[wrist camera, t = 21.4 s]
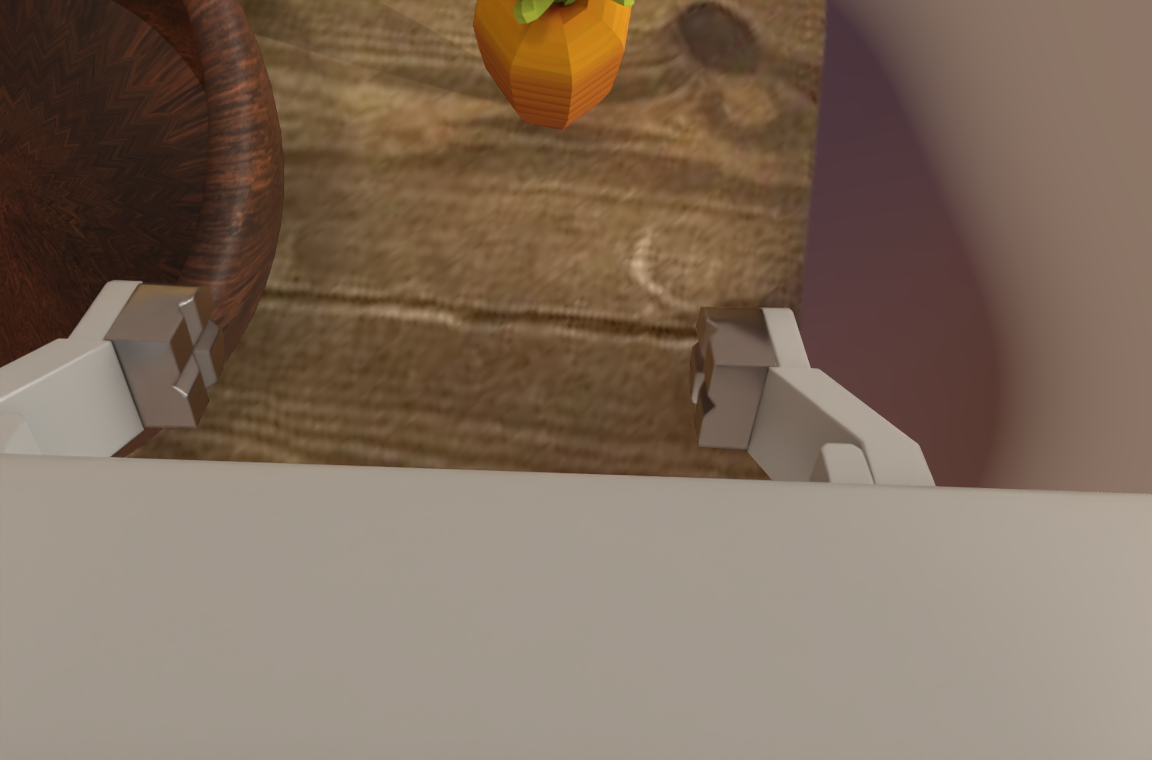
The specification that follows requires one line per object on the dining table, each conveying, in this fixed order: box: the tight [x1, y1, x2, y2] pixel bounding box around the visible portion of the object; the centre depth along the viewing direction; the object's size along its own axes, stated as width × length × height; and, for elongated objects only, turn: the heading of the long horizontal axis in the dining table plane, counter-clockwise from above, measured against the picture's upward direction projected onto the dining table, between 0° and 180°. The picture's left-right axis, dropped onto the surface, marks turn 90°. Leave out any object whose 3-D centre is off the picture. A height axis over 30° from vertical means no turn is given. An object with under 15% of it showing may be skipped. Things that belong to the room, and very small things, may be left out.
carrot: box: [473, 0, 634, 130], centre depth 29 cm, size 5×5×15 cm
